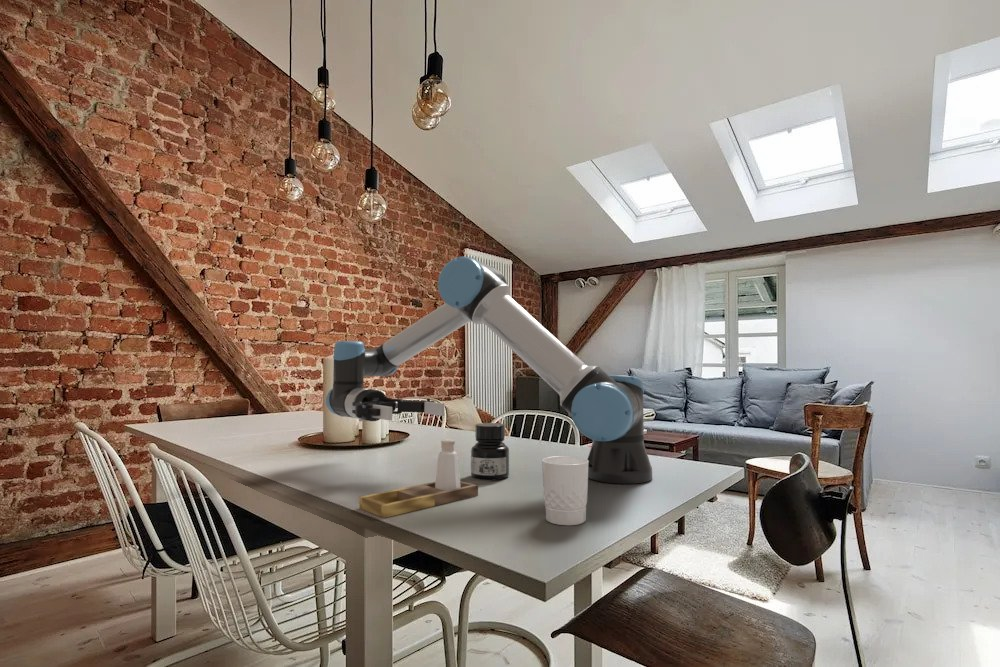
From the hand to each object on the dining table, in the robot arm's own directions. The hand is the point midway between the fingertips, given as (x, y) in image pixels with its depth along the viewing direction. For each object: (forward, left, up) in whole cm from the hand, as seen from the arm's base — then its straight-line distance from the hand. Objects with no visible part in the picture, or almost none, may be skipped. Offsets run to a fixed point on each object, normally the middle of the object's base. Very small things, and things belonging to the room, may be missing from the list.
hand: (418, 411), depth 113 cm
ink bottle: (-7, -17, -16) cm, 24 cm away
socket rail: (-9, +8, -16) cm, 20 cm away
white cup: (-37, +2, -16) cm, 40 cm away
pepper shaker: (-10, +2, -16) cm, 19 cm away
